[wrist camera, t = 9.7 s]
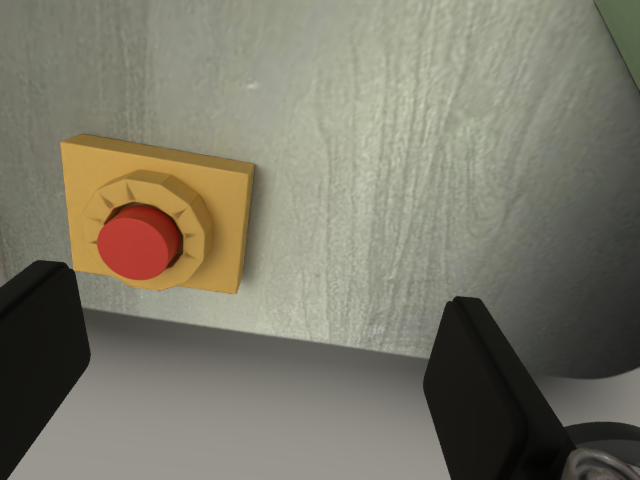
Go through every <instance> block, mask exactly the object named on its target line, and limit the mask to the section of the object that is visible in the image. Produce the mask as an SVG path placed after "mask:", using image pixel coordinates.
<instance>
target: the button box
mask: <svg viewBox="0 0 640 480" xmlns="http://www.w3.org/2000/svg"><path fill="white" fill-rule="evenodd" d="M60 144H61V154H62V163H63V173H64V183H65V192H66V202H67V211H68V221H69V230H70V240H71V249H72V259H73V268H74V271H80V272H87V273H94V274H101V275H108V276H113V277H115V278H117V279H118V280H120V281H122V282H123V283H125V284H127V285H129V286H130V287H136V288H143V289H150V290H157V291H161V290H164V289H168V288H171V287H174V286H182V287H189V288H196V289H203V290H209V291H216V292H223V293H230V294H237V291H238V288H239V285H240V282H241V279H242V276H243V267H244V258H245V249H246V240H247V231H248V222H249V213H250V204H251V195H252V186H253V177H254V168H255V165H254V164H252V163H246V162H240V161H235V160H229V159H223V158H218V157H212V156H206V155H200V154H195V153H189V152H183V151H178V150H172V149H166V148H160V147H155V146H149V145H143V144H138V143H132V142H126V141H120V140H115V139H109V138H103V137H98V136H92V135H86V134H81V135H78V136H75V137H72V138H70V139H67V140H64V141H61V143H60ZM132 206H148V207H152V208H155V209H157V210H159V211H161V212H162V213H164V214H165V215H166V216H168V217H169V218H170V219H171V221H172V222H173V223H174V225H175V226H176V228H177V231H178V234H179V248H178V250H177V252H176V254H175V256H174V257H173V258H172V260H171V261H170V263H169V264H168V266H167V267H166V269H165V270H164V271H163V272H162V273H161V274H160V275H158V276H156V277H154V278H152V279H148V280H132V279H128V278H125V277H122V276H120V275H118V274H117V273H115V272H114V271H112V270H111V269H110V268H109V267H108V266H107V265H106V264H105V263H104V261H103V260H102V258H101V256H100V254H99V251H98V247H97V239H98V235H99V232H100V230H101V229H102V227H103V226H104V225H105V224H106V223H108V222H109V221H110V220H111V219H113V218H114V217H115V216H116V215H117V214H119V213H120V212H121V211H122V210H124V209H126V208H128V207H132Z"/></svg>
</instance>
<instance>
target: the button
mask: <svg viewBox="0 0 640 480" xmlns="http://www.w3.org/2000/svg"><path fill="white" fill-rule="evenodd" d="M97 247H98V251H99V254H100V256H101V258H102V260H103V261H104V263H105V264H106V265H107V266H108V267H109V268H110V269H111V270H112V271H114V272H115V273H117V274H118V275H120V276H122V277H125V278H128V279H132V280H148V279H152V278H154V277H156V276H158V275H160V274H161V273H162V272H163V271H164V270H165V269H166V267H167V266H168V264H169V263H170V261H171V260H172V258H173V257H174V256H175V254H176V252H177V250H178V248H179V234H178V231H177V228H176V226H175V225H174V223H173V222H172V221H171V219H170V218H169V217H168V216H166V215H165V214H164V213H162V212H161V211H159V210H157V209H155V208H152V207H148V206H132V207H128V208H126V209H124V210H122V211H121V212H120V213H119V214H117V215H116V216H115V217H114V218H113V219H111V220H110V221H109V222H108V223H106V224H105V225H104V226H103V227H102V229H101V230H100V232H99V235H98V239H97Z"/></svg>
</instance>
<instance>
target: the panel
mask: <svg viewBox="0 0 640 480" xmlns="http://www.w3.org/2000/svg"><path fill="white" fill-rule="evenodd" d="M594 1H595V3H596V5H597V7H598V9H599V11H600V13H601V15H602V17H603V19H604V21H605V23H606V25H607V27H608V29H609V31H610V33H611V35H612V37H613V39H614V41H615V43H616V45H617V47H618V49H619V51H620V53H621V55H622V57H623V59H624V61H625V63H626V65H627V67H628V69H629V71H630V73H631V75H632V77H633V79H634V81H635V83H636V85H637V87H638V89H639V91H640V0H594Z"/></svg>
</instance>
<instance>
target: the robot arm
mask: <svg viewBox="0 0 640 480" xmlns="http://www.w3.org/2000/svg"><path fill="white" fill-rule="evenodd" d="M90 356H91V353H90V347H89V342H88V337H87V333H86V327H85V322H84V316H83V311H82V306H81V301H80V296H79V290H78V285H77V280H76V275H75V272H74V271H73V270H72V269H69V267H68V266H67V264H66V263H64V262H55V261H44V260H37V261H35V262H33V263H32V264H31V265H29V266H28V267H27V268H25V269H24V270H23V271H21V272H20V273H19V274H18V275H16V276H15V277H14V278H12V279H11V280H10V281H8V282H7V283H6V284H4V285H3V286H2V287H0V480H7V479H8V477H9V476H10V475H11V473H12V472H13V470H14V469H15V468H16V466H17V465H18V463H19V462H20V461H21V459H22V458H23V457H24V455H25V453H26V452H27V451H28V449H29V448H30V447H31V445H32V444H33V443H34V441H35V440H36V438H37V437H38V436H39V434H40V433H41V431H42V430H43V429H44V427H45V426H46V424H47V423H48V422H49V420H50V419H51V417H52V416H53V415H54V413H55V411H56V410H57V409H58V408H59V406H60V405H61V403H62V402H63V401H64V399H65V398H66V396H67V395H68V394H69V392H70V390H71V389H72V388H73V386H74V385H75V384H76V382H77V381H78V379H79V378H80V377H81V375H82V374H83V373H84V371H85V370H86V368H87V367H88V364H89V362H90ZM423 388H424V394H425V397H426V400H427V403H428V406H429V410H430V413H431V416H432V419H433V423H434V426H435V429H436V432H437V436H438V439H439V442H440V445H441V448H442V452H443V455H444V458H445V461H446V465H447V468H448V471H449V474H450V478H451V480H640V468H638V467H636V466H633V465H630V464H626V463H624V462H623V461H621V460H620V459H618V458H617V457H614V456H612V455H610V454H608V453H606V452H603V451H600V450H596V449H592V448H578V449H577V448H576V447H575V445H574V444H573V442H572V440H571V439H570V437H569V435H568V433H567V432H566V430H565V428H564V427H563V426H562V424H561V422H560V421H559V419H558V418H557V416H556V415H555V413H554V412H553V410H552V408H551V407H550V406H549V404H548V402H547V401H546V399H545V398H544V396H543V395H542V393H541V391H540V390H539V389H538V387H537V385H536V384H535V382H534V381H533V379H532V378H531V376H530V374H529V373H528V371H527V370H526V368H525V367H524V365H523V364H522V362H521V361H520V359H519V357H518V356H517V354H516V353H515V351H514V350H513V348H512V347H511V345H510V344H509V342H508V340H507V339H506V337H505V336H504V334H503V333H502V331H501V330H500V328H499V327H498V325H497V324H496V322H495V320H494V319H493V317H492V316H491V314H490V313H489V311H488V310H487V308H486V307H485V305H484V303H483V302H482V301H481V299H479V298H473V297H461V296H457V297H455V298H454V299H453V301H448V302H447V303H446V306H445V309H444V312H443V315H442V319H441V322H440V325H439V329H438V332H437V336H436V339H435V342H434V346H433V349H432V352H431V356H430V359H429V362H428V366H427V369H426V372H425V376H424V381H423Z"/></svg>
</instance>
